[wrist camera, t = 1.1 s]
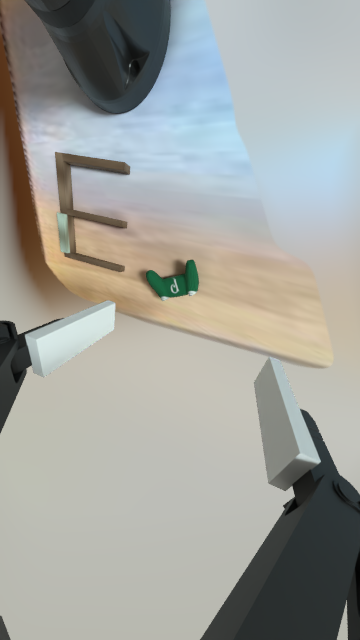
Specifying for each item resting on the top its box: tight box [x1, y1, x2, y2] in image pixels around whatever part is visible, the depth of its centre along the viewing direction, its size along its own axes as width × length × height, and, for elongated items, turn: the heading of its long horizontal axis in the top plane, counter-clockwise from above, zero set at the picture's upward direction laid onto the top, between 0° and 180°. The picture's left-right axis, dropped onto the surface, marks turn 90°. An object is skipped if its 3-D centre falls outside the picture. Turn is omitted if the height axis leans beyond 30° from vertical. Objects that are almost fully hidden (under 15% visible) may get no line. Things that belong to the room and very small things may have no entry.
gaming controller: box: [146, 260, 199, 301], centre depth 31 cm, size 9×4×6 cm
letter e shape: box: [55, 152, 130, 272], centre depth 31 cm, size 17×14×2 cm
